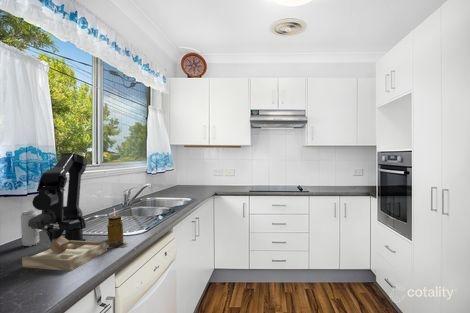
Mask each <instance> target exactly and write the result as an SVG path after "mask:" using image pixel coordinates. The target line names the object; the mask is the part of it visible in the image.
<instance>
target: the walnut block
mask: <svg viewBox="0 0 470 313" xmlns="http://www.w3.org/2000/svg"><path fill="white" fill-rule="evenodd" d="M68 244H69V241H68V240H67V239H66V238H65V236H63V235H61V236H60V237H58V238H55V239H52V242H50V245H49V248H48V249H51V250H52V251H53V252H54V253H56V254H58V253H60V252H62V251H65V250H66V249H67V246H68Z"/></svg>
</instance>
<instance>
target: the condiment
mask: <svg viewBox="0 0 470 313" xmlns="http://www.w3.org/2000/svg"><path fill="white" fill-rule="evenodd" d="M121 218H122V220H121ZM107 222H108V223H107V226H106V227H107V249H110V248H111V249H113V248H123V247H127V246H128V245H129V244H130V243H131V240H124V227H123V226H124V224H123V217H122V216H121V215H115V216H114V215H113V216H109V217H108V218H107Z"/></svg>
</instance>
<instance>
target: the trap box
mask: <svg viewBox="0 0 470 313" xmlns="http://www.w3.org/2000/svg"><path fill="white" fill-rule="evenodd" d="M68 241H69V244H68V246H67V249H66V250H65V251H62V252H60V253H58V254H56V253H54V252H53V251H52V250H51V249H49V248H48V249H45V250H44V251H41V252H39V253H37V254H35V255H30V256H23V257H22V258H21V263H22V268H27V269H41V270H54V271H55V270H56V271H68V272H71V271H73V270H74V269H77V268H78V267H81V265H83V264H86V263H87V262H89V261H91V260H93V259H94V258H96V257H98V256H100V255H102V254H104V253H106V252H107V250H108V248H107V245H108V242H107V241H90V240H89V241H88V240H85V241H72V240H68Z"/></svg>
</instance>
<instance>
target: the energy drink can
mask: <svg viewBox="0 0 470 313" xmlns="http://www.w3.org/2000/svg"><path fill="white" fill-rule="evenodd" d="M37 215H39V213H38V212H37V209H28V210H23V211H21V215H20V226H21V227H20V228H21V229H20V230H21V243H22V245H23V247H24V246H29V247H33V246H32V245H34V246H36V245H38V244H39V242H40V230H38V229H32V228H31V227H28V222H29V220H30V219H32V218H34V217H35V216H37ZM37 243H38V244H37ZM35 244H36V245H35Z"/></svg>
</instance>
